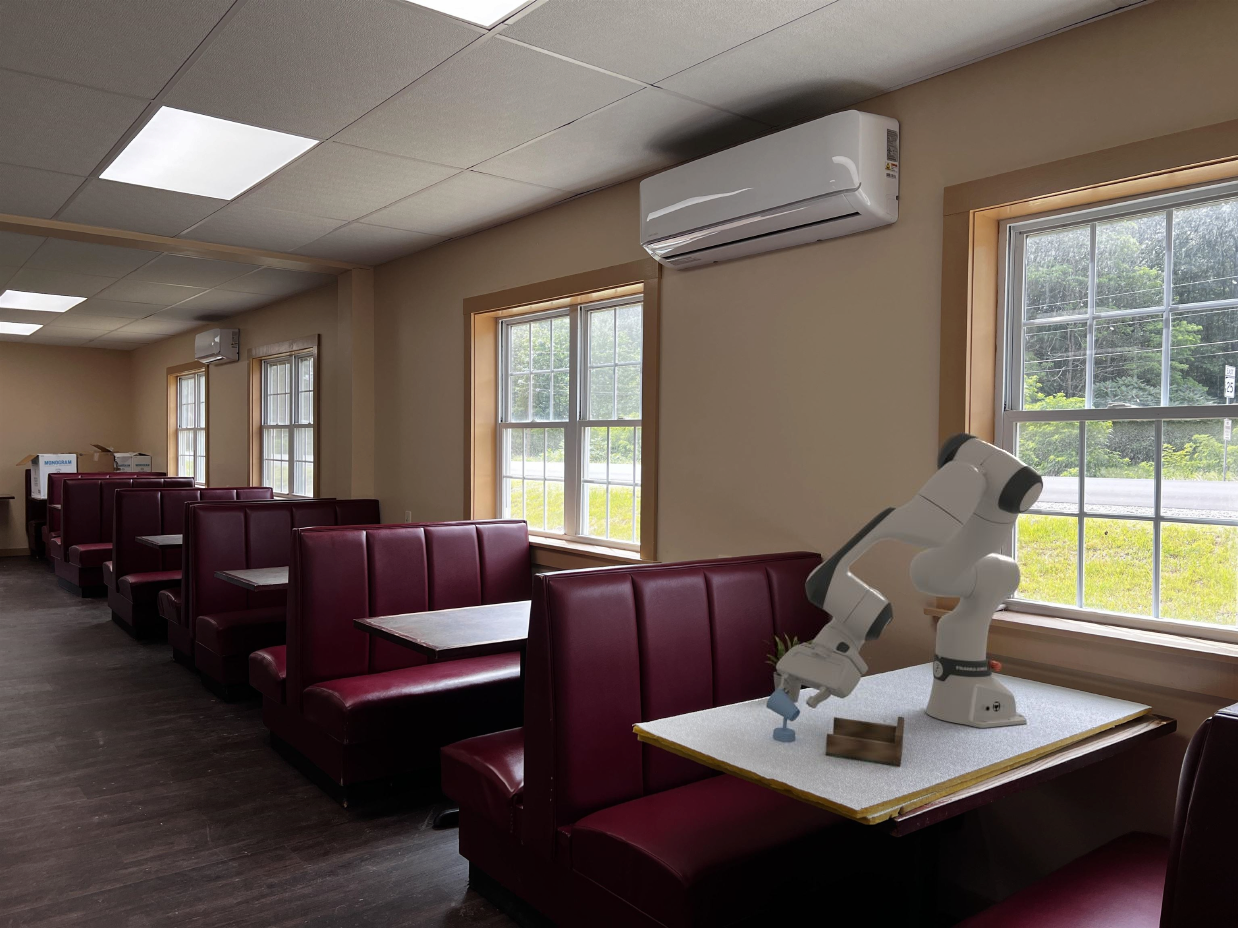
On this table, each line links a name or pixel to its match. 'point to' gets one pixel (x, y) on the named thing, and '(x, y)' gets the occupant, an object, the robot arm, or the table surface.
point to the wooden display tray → (866, 741)
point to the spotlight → (783, 714)
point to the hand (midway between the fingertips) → (794, 699)
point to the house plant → (794, 687)
